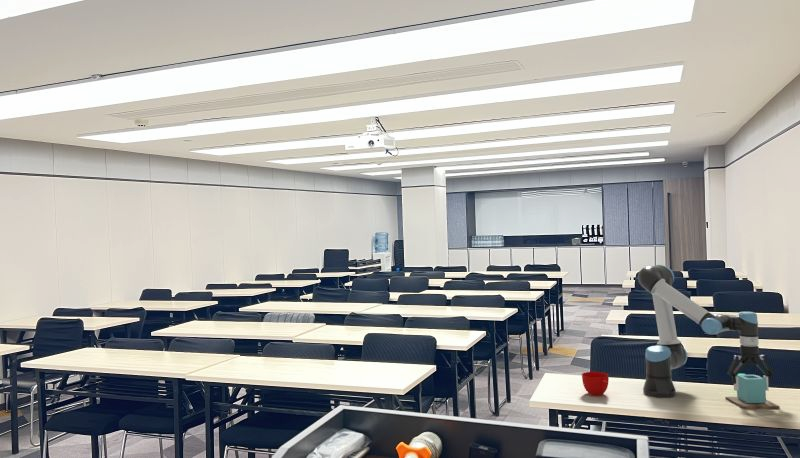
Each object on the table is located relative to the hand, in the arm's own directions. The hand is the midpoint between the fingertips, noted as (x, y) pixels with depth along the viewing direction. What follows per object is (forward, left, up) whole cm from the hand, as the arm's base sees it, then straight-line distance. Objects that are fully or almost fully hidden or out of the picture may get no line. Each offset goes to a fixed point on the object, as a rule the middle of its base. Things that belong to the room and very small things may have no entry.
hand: (751, 390), depth 266 cm
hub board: (0, 0, -6) cm, 6 cm away
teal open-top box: (0, 0, -5) cm, 5 cm away
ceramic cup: (-66, +18, -7) cm, 69 cm away
